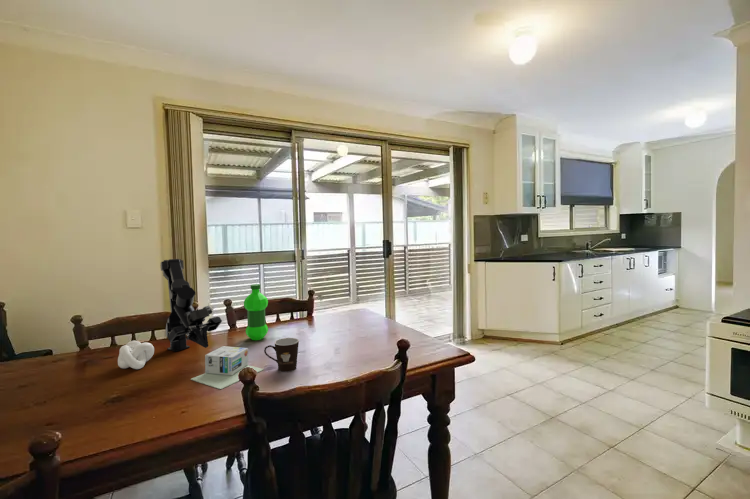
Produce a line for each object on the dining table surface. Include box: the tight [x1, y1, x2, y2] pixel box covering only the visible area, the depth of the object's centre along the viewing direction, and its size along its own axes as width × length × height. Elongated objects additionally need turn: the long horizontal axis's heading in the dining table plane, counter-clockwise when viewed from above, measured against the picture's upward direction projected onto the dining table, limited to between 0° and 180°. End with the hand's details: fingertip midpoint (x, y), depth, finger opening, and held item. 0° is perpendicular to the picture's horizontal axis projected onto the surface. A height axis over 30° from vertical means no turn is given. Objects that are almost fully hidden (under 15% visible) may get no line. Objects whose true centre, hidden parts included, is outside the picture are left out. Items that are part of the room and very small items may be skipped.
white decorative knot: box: [117, 339, 155, 370], centre depth 137 cm, size 11×12×9 cm
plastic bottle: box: [243, 283, 269, 341], centre depth 169 cm, size 10×10×25 cm
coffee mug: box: [263, 337, 300, 373], centre depth 134 cm, size 12×9×10 cm
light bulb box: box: [204, 345, 249, 375], centre depth 133 cm, size 11×7×11 cm
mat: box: [190, 364, 265, 390], centre depth 129 cm, size 16×18×1 cm
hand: (207, 347), depth 134 cm, fingers closed
